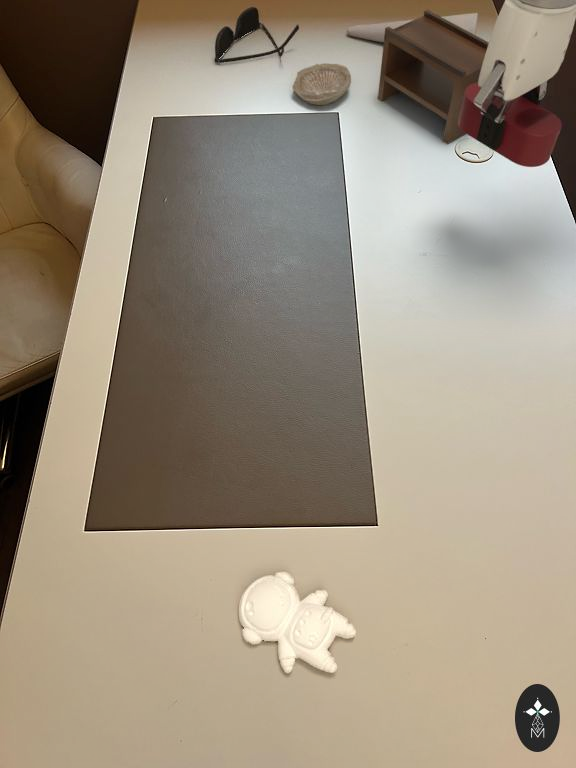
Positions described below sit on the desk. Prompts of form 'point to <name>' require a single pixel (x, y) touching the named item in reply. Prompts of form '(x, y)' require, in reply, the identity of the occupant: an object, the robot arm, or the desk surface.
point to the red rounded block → (515, 128)
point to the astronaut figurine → (292, 621)
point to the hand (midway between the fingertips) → (504, 133)
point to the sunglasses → (244, 25)
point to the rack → (432, 66)
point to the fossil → (322, 83)
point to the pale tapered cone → (378, 30)
